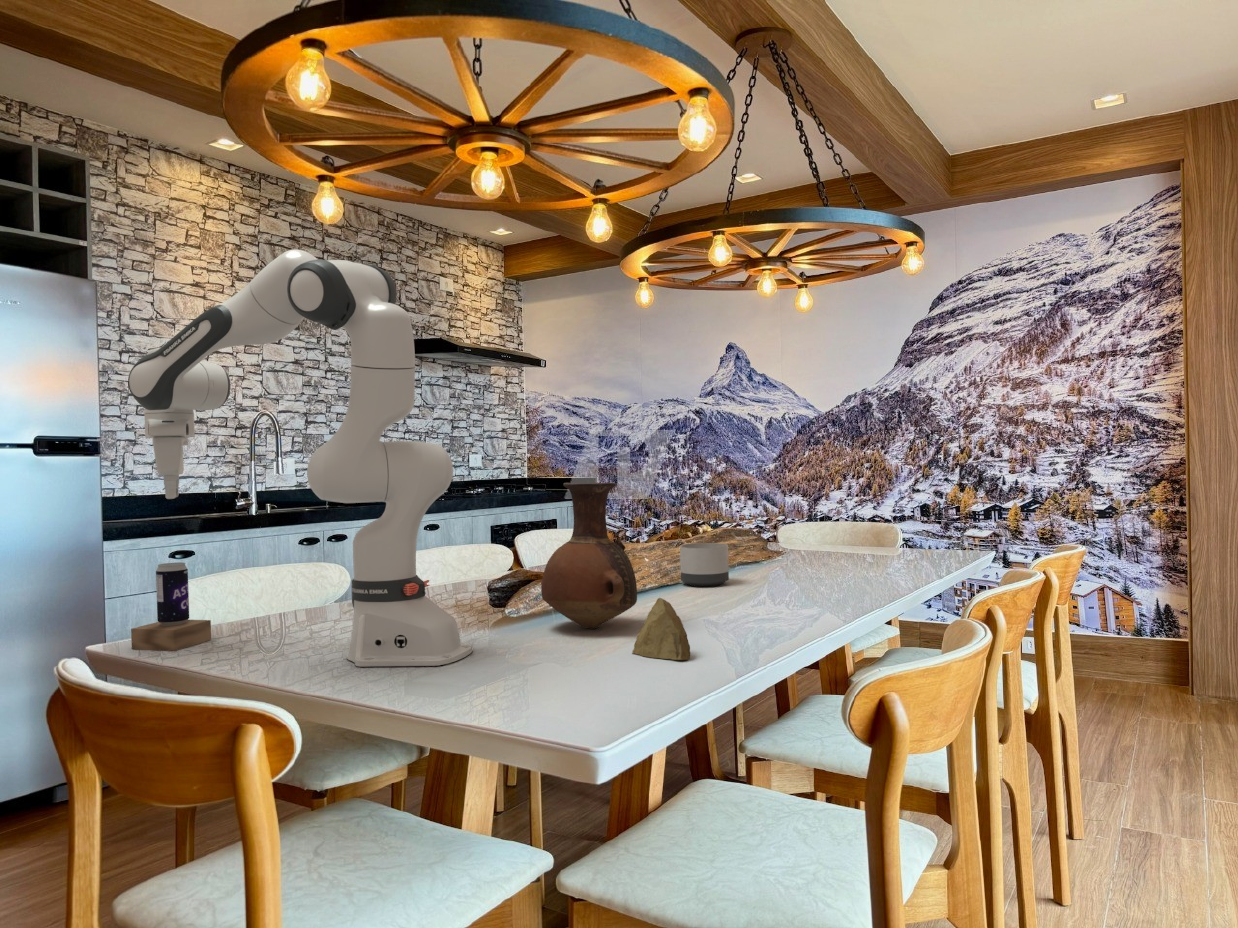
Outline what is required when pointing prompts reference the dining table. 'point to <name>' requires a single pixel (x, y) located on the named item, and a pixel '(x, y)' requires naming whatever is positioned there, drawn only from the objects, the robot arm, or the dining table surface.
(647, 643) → the rock
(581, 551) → the vase
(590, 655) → the dining table surface
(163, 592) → the beverage can
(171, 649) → the walnut block
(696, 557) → the planter
